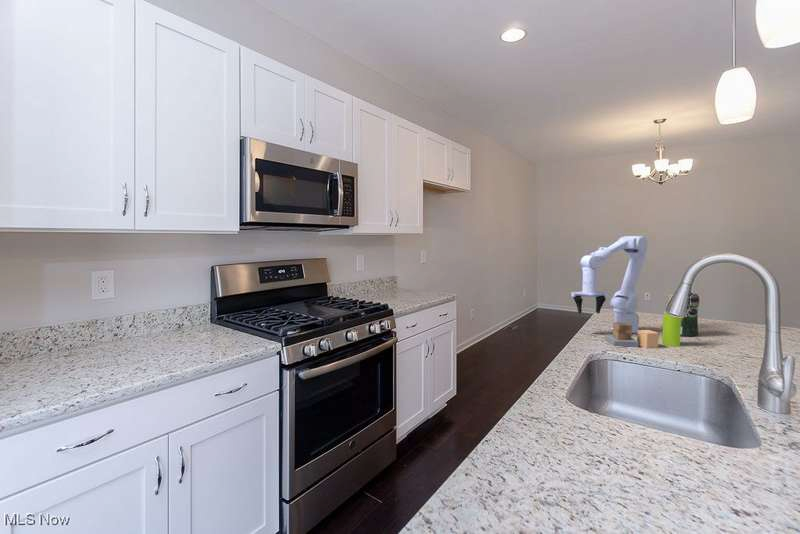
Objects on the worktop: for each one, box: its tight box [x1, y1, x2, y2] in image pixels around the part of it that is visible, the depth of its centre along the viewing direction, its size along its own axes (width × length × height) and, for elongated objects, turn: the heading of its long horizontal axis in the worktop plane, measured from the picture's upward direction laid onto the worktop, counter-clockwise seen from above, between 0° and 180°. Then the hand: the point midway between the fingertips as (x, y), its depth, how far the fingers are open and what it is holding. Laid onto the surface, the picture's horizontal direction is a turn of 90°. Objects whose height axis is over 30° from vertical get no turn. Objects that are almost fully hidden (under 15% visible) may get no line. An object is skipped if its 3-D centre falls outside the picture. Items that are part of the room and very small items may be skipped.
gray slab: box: [604, 334, 639, 348], centre depth 156 cm, size 9×9×3 cm
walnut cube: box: [612, 321, 633, 340], centre depth 156 cm, size 5×5×6 cm
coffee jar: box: [680, 293, 700, 337], centre depth 169 cm, size 10×8×19 cm
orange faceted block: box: [636, 329, 660, 349], centre depth 153 cm, size 5×5×6 cm
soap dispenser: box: [661, 294, 681, 347], centre depth 155 cm, size 6×7×20 cm
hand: (588, 312), depth 170 cm, fingers open, 7 cm apart
